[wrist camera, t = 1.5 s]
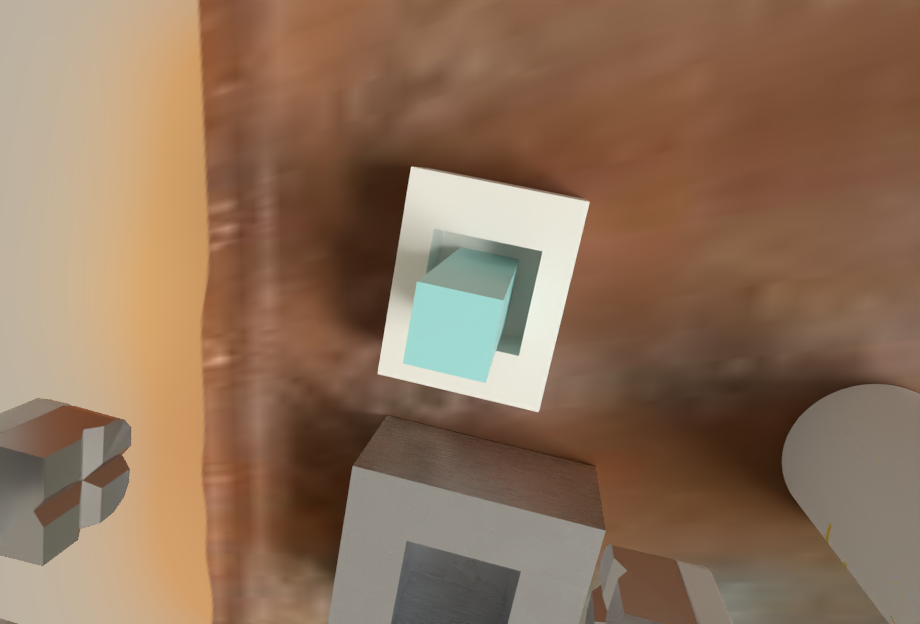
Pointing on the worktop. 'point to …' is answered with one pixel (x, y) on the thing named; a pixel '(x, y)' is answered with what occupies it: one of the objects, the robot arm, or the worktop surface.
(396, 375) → the white square-hole block
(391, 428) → the port
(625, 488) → the worktop surface
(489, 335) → the plug
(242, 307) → the worktop surface
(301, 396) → the worktop surface
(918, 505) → the cup
